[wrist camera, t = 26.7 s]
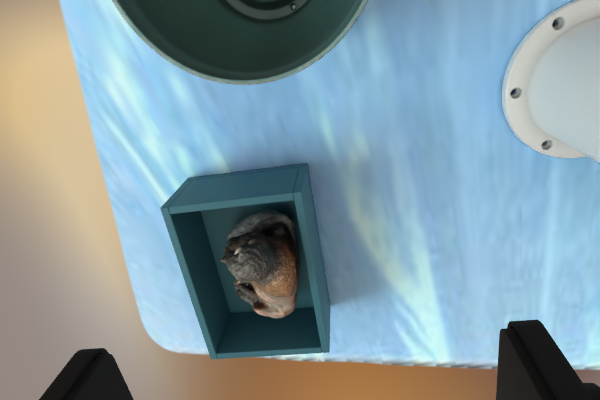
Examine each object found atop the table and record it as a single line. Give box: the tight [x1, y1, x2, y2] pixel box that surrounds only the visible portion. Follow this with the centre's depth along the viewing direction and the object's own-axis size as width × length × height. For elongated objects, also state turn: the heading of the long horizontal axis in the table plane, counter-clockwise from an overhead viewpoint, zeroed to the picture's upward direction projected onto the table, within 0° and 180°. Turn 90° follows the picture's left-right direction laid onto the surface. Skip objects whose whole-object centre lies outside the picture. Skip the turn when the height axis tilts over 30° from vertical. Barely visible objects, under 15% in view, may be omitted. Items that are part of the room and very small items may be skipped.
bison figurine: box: [221, 209, 300, 318], centre depth 36 cm, size 12×7×10 cm, turn 6°
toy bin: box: [161, 163, 330, 359], centre depth 38 cm, size 12×17×7 cm
